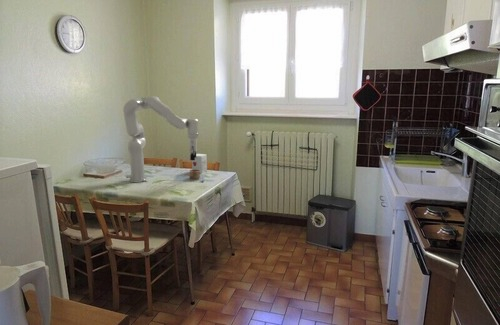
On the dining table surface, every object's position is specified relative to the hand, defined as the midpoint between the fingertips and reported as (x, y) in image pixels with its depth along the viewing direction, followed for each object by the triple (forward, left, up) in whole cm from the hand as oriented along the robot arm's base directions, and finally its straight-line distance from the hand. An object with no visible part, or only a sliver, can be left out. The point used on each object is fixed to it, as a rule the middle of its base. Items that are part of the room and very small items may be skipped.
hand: (193, 158), depth 259 cm
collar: (+1, 0, -15) cm, 15 cm away
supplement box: (+3, +21, -16) cm, 27 cm away
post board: (-3, +2, -16) cm, 17 cm away
